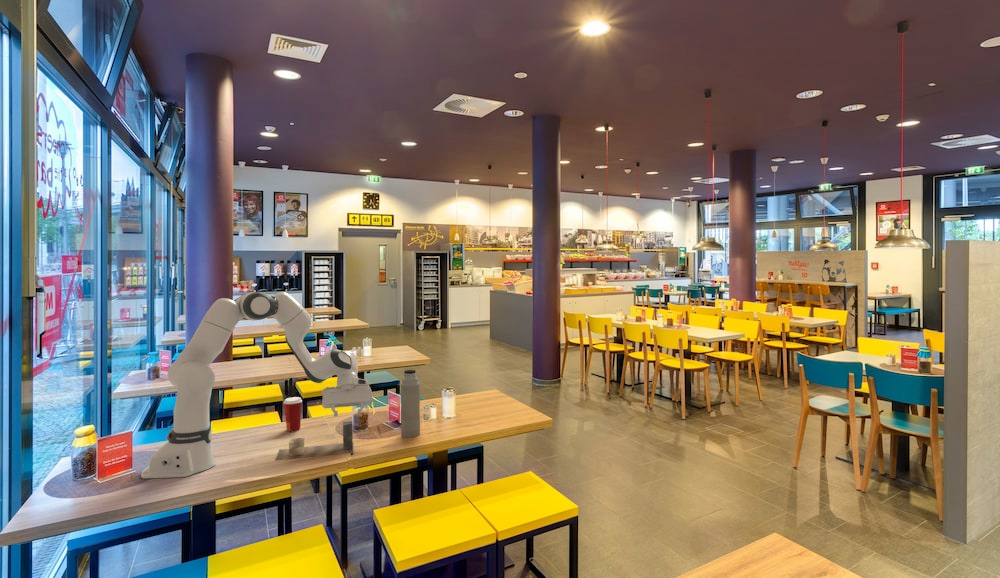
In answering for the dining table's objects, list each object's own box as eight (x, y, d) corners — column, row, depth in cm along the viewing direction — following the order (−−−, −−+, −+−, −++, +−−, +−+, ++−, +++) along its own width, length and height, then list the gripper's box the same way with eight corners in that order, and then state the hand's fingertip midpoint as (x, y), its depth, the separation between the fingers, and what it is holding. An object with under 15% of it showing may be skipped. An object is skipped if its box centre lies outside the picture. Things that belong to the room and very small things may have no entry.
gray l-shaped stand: (274, 462, 186) (274, 433, 185) (279, 451, 197) (279, 424, 197) (353, 454, 194) (352, 427, 193) (353, 444, 205) (352, 418, 205)
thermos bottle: (417, 430, 223) (417, 368, 222) (421, 435, 215) (421, 371, 214) (399, 432, 220) (399, 369, 219) (403, 438, 212) (402, 372, 211)
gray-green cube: (289, 455, 190) (288, 442, 190) (290, 451, 195) (290, 438, 195) (303, 454, 192) (302, 441, 192) (304, 450, 197) (304, 437, 196)
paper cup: (305, 427, 228) (305, 396, 228) (297, 432, 221) (296, 401, 220) (289, 426, 229) (288, 396, 228) (280, 432, 221) (279, 400, 221)
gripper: (321, 383, 209) (320, 413, 200) (371, 380, 215) (373, 408, 206) (322, 391, 213) (321, 420, 204) (371, 388, 219) (372, 416, 210)
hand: (347, 414), depth 205 cm, fingers open, 8 cm apart
